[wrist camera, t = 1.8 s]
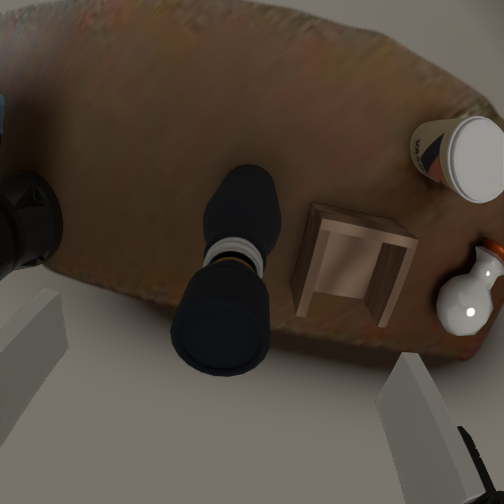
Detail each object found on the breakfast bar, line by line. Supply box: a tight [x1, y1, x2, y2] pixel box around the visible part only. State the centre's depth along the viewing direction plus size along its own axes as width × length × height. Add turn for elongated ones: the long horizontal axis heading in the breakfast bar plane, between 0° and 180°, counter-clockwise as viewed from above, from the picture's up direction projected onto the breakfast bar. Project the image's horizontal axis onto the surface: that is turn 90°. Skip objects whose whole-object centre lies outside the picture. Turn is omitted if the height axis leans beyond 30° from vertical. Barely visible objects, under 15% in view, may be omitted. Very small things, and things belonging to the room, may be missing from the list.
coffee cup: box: [410, 116, 504, 203], centre depth 31 cm, size 9×9×12 cm
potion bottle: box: [436, 236, 504, 336], centre depth 40 cm, size 9×10×15 cm
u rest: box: [291, 202, 419, 328], centre depth 39 cm, size 12×12×8 cm
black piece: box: [170, 164, 281, 377], centre depth 26 cm, size 6×6×30 cm
